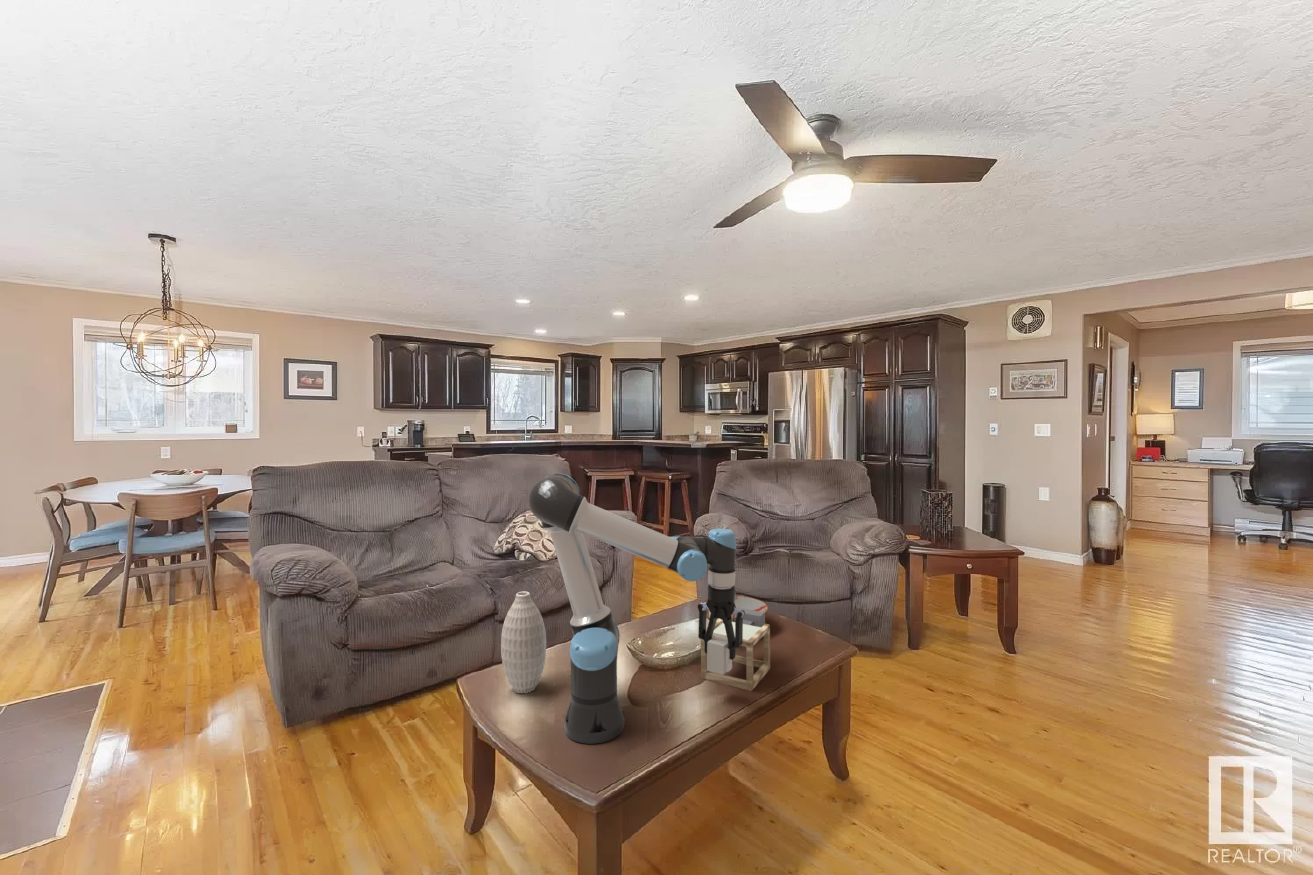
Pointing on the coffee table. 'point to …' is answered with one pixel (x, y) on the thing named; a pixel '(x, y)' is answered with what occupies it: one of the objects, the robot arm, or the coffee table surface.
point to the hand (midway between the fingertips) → (719, 667)
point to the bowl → (747, 604)
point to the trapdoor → (746, 623)
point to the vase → (523, 644)
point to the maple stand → (742, 661)
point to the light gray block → (717, 654)
